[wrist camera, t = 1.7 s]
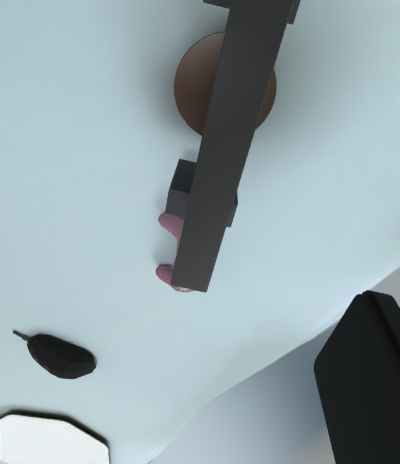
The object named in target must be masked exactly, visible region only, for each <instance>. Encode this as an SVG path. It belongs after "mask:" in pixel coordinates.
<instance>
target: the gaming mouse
mask: <svg viewBox="0 0 400 464" xmlns="http://www.w3.org/2000/svg"><path fill="white" fill-rule="evenodd" d="M13 333H14V334H16V335H18V336H19V337H21V338H22V339H23V340H27V342H28V343H27V347H28V349H29V352H30V354H31V356H32V357H33V359H34V360H35V361H36V362H37V363H38V364H40V365H41V366H42V367H43V368H44V369H46V370H47V371H48V372H49V373H51V374H53V375H55V376H57V377H59V378H63V379H76V378H79V377H81V376H84V375H87V374H89V373H92V372H93V370H94V369H95V368H96V366H95V362H94V359H93V357H92V356H91V355H90V354H89V353H87V352H86V351H85V350H83V349H81V348H79V347H76V346H74V345H71V344H68V343H66V342H63V341H61V340H58V339H56V338H53V337H50V336H47V335H37V336H35V337H33V338H31V339H30V338H28V337H27V336H25V335H24V336H23V335H21V334H19V333H17V332H16V331H13Z"/></svg>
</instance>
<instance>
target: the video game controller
mask: <svg viewBox="0 0 400 464" xmlns="http://www.w3.org/2000/svg"><path fill="white" fill-rule="evenodd" d="M158 221H159V222H160V224H161V225H162V226H163V227H164V228H166V229H167V230H168V231H170V232H171V233H172V234H173V235H174V236H175V237H176V238H177V242H178V243H177V251H178V246H179V242H180V237H181V233H182V228H183V223H184V219H182V218H180V217H178V216H175V215H171V214H166V213H164V214H162V215H160V216H159V219H158ZM175 260H176V259H175ZM174 265H175V262H174ZM156 274H157V276H158V277H159V278H160V279H161V280H162V281H164V282H165V283H167V284H169V285H170V283H171V279H172V274H173V268H171V267H168V266H159V267H157V268H156ZM170 286H171V287H172V288H173V289H175V290H176V291H179V292H191V291H195V290H191V289H187V288H182V287H177V286H172V285H170Z"/></svg>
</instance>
